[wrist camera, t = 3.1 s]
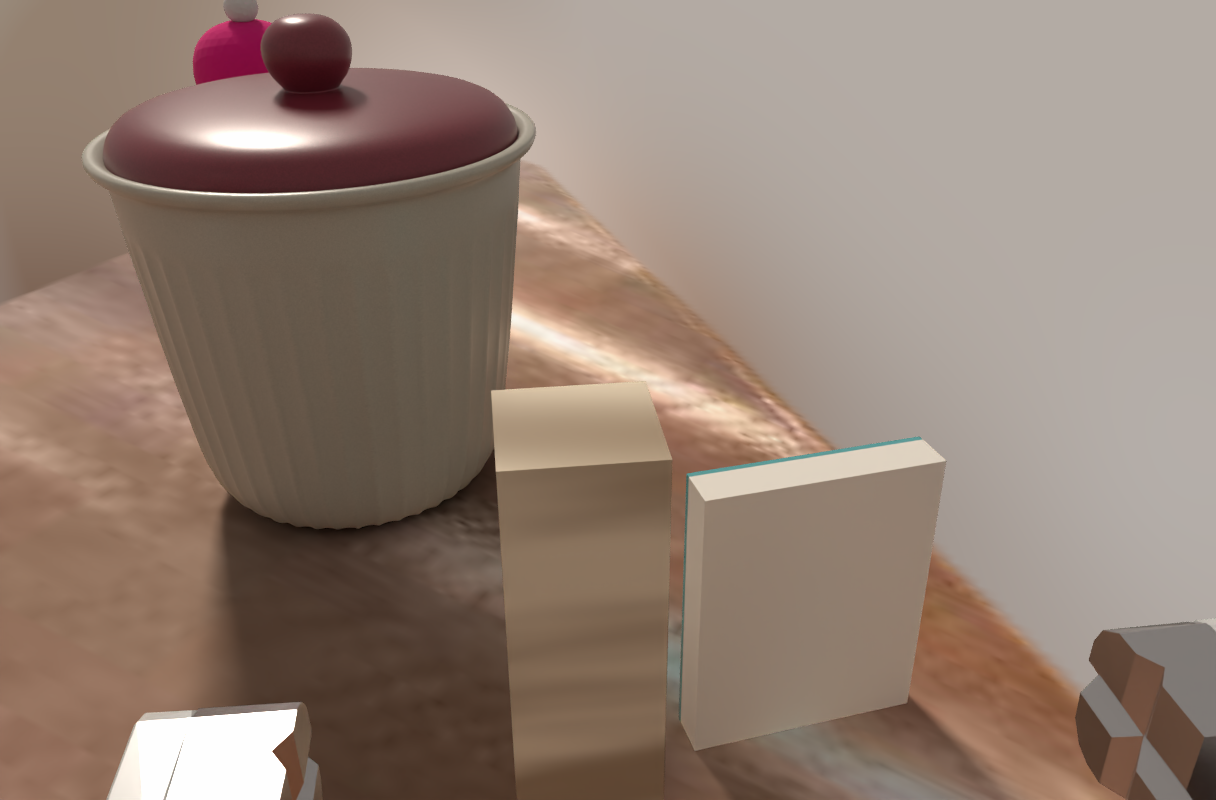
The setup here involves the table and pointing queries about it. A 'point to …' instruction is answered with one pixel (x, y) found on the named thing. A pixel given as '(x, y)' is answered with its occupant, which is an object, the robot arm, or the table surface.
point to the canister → (326, 272)
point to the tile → (804, 587)
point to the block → (585, 587)
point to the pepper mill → (231, 45)
